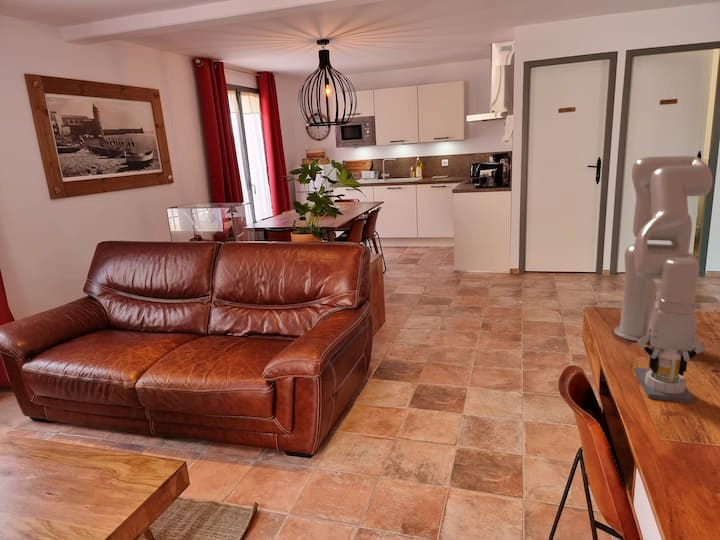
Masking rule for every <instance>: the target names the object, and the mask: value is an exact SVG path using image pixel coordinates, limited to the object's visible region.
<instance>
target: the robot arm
mask: <svg viewBox="0 0 720 540" xmlns="http://www.w3.org/2000/svg"><path fill="white" fill-rule="evenodd" d="M631 179H632V184H633V187H634V192H635V207H634V214H633V223H632V224H633V225H632V232H633V235H634V237H635V242H634V244H630V245H628V247H627V248H625V252H624V287H623V296H622V303H621V314H620V321H619V322H620V323H619V325H618V326H616V327H615V328H614V330H613V332H614V334H615V335H616V336H618V337H620V338H621V339H625V340H628V341H634V342H636V343H637V345H639V347H640V348H641V349H643V350H644V352H645V353H647V354H648V356H649V360H648V367H649V368H648V369H651V370H652V371H653V373H657V366H658V358H657V355H658V353H659V351H660V350H661V349H674V350H678V352H679V353H680V354H681V362H680V369H679V375H681V376H683V377H684V373H685V372H687V366H688V362H690V360H691V359H693V358H695V357H696V356H697V355H698V354H701V353H702V352H703V351H705V347H704V346H703V345H702V343H700V341H699V340H698V339H697V316H696V315H697V314H696V313H695V310H697V309H698V310H699V309H701V303H700V302H699V303H697V302H696V301H695V300H696V294H697V287H698V282H699V280H698V279H699V274H700V263H699V260H698V259H697V258H696V256H695V255H694V254H692V253H690V244H691V239H692V238H691V237H692V231H693V230H692V229H693V222H692V218H691V215H690V214H689V205H688V197H704V196H706V195H707V194H709V193H710V191H711V190H712V187H713V174H712V170H711V168H710V167H709V166H708V164H706V162H704V161H703V160H702V159H701V158H700V157H698V156H692V155H689V156H688V155H685V156H684V155H683V156H681V155H680V156H678V155H675V156H668V155H667V156H665V155H664V156H647V157H641V158H638V159H637V160H636V161H635V162H634V163H633V164H632V170H631ZM648 241H660V242H661V241H663V242H664V241H668V242H670V244H663V243H648ZM655 280H661V282H660V283H661V284H660V290H659V298H658V303H657V305H658V306H657V307H656V300H657V293H658V285H657V282H656V281H655ZM648 342H649V343H650V346H651V347H649V345H647V343H648Z"/></svg>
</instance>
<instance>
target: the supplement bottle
mask: <svg viewBox="0 0 720 540" xmlns="http://www.w3.org/2000/svg"><path fill="white" fill-rule="evenodd" d="M657 358H658V366H657V373H654V376H655V378H657V379H658V380H661V381H664V382H676V381H677V380H678V376H679V369H680V362H681V353H680V351H678V350H674V349H661V350H660V351H659V353H658V355H657Z"/></svg>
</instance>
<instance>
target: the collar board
mask: <svg viewBox="0 0 720 540" xmlns="http://www.w3.org/2000/svg"><path fill="white" fill-rule="evenodd" d="M634 373H635V375H636V376H637V378H638V380H639V383H640V384H641V386H642V388H643V391H644V392H646V393H645V394H646V396H647V398H648V399H654V400H661V401H670V402H679V403H689V404H695V403H694V401H695V398H694V397H693V396H692V393H691V392H690V391H689V390H688V388H687V380H686V378H685V377H684V375H683V376H681V375H679V376H678V380H677V381H676V382H664V381H661V380H658V379H657V378H655V376H654V373H653V371H652V370H651V368H645V367H634Z"/></svg>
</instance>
